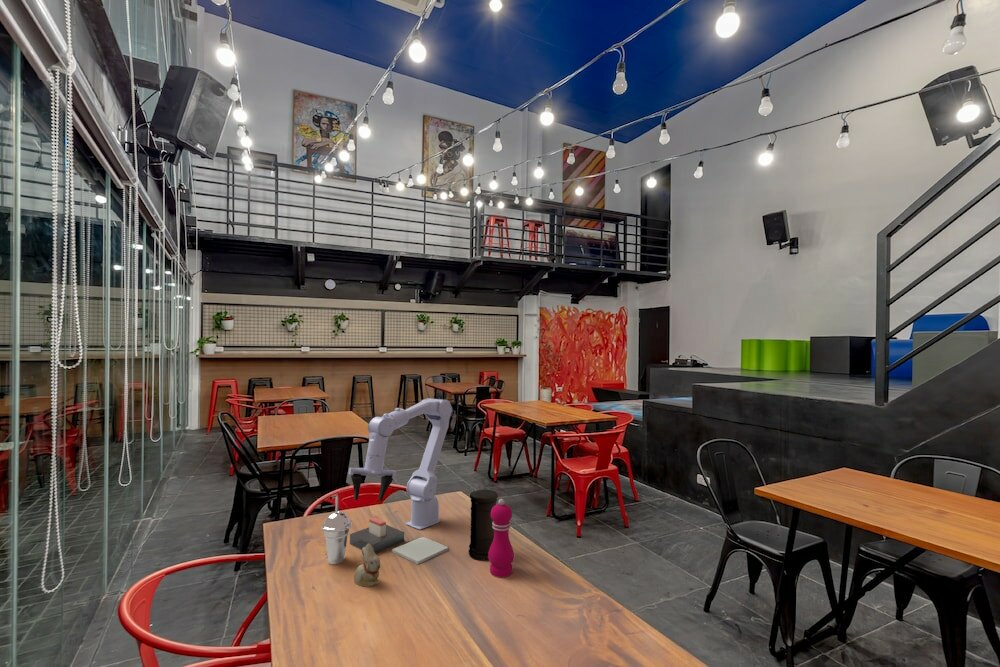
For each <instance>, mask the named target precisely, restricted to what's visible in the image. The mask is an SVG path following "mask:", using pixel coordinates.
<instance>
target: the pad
mask: <svg viewBox="0 0 1000 667" xmlns="http://www.w3.org/2000/svg"><path fill="white" fill-rule="evenodd" d="M447 551H449V546H446V545H444V544H442V543H439V542H436V541H434V540H433V539H429V538H427V537H424V536H421V537H419V538H417V539H413V540H411V541H409V542H407V543H405V544H402V545H399V546H397V547H395V548H392V549H391V553H392V554H395V555H398V556H400V557H401V558H403V559H406V560H408V561H410V562H411V563H414V564H417V565H419V564H421V563H422V564H423V562H426V561H428V560H431V559H432V558H434V557H436V556H439V555H441V554H442V553H445V552H447Z"/></svg>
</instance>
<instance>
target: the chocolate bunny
mask: <svg viewBox="0 0 1000 667" xmlns="http://www.w3.org/2000/svg"><path fill="white" fill-rule="evenodd" d="M361 554H362V558H363V564H360V565H359V566H358V567H357V568H356V569H355V571H354V575H353V578H354V580H353V581H354V583H355V584H356V585H358V586H361V587H368V588H370V587H375V586H377V585H378V582H379V580H378V578H379V575H380V571H379V570H380V569H381V559H380V557H379V556H378V555H377V553H376V554H375V552H374V549H373V547H372V545H371V544H367V545H366V546H365V547H363V548H362V550H361Z"/></svg>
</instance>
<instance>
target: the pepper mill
mask: <svg viewBox="0 0 1000 667" xmlns="http://www.w3.org/2000/svg"><path fill="white" fill-rule="evenodd" d="M497 501H498V503H496V505H495V506H494V507H493V508H492V510H491V518H492V520H493V523H492V524H493V526H492V528H493V529H494V539H493V542H492V544H491V547H490V549H489V553H488V559H489V560H488V561H489V562H490V564H489V573H490V574H491V575H492V576H494V577H497V578H505V577H510V576H511V575H512V573H513V564H512V563H513V561H514V559H515V551H514V548H513V546H512V544H511V539H510V536H509V535H510V534H509V530H510V528H511V522H510V521H511V520H512V519H513V511H512V508H511V507H510V506H509V505H508V504H506V501H505V500H504V498H500V499H498V500H497Z"/></svg>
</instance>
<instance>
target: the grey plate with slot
mask: <svg viewBox="0 0 1000 667" xmlns="http://www.w3.org/2000/svg"><path fill="white" fill-rule="evenodd" d="M404 542H405V531H402V530H400V529H397V528H395V527H393V526H390V525H389V524H386V535H385V536H383V537H378V536H376V535H373V534H371V533H369V527H366V528H363V529H360V530H358V531H355V532H352V533H349V545H352V546H354V547H355V548H357V549H360V550H361V551H362V548H363V547H365V546H366V545H367V544H371V545H372V547H373V549H374V552H375V554H376V555H377V554H378V553H380V552H382V551H385V550H388V549H390V548H392V547H395V546H397V545H400V544H402V543H404Z"/></svg>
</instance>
